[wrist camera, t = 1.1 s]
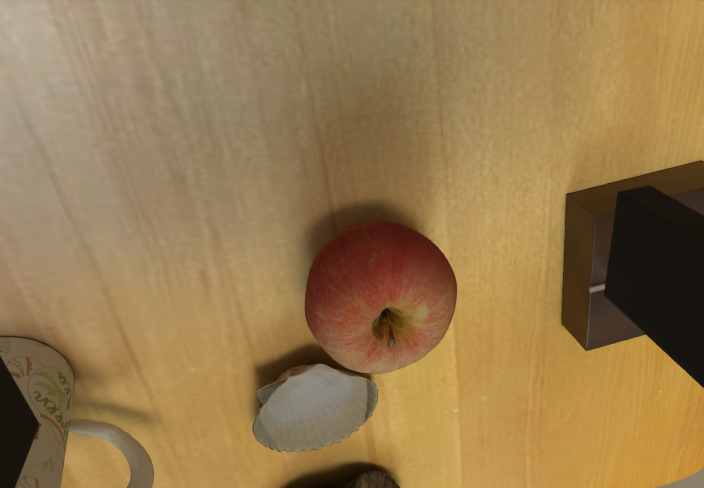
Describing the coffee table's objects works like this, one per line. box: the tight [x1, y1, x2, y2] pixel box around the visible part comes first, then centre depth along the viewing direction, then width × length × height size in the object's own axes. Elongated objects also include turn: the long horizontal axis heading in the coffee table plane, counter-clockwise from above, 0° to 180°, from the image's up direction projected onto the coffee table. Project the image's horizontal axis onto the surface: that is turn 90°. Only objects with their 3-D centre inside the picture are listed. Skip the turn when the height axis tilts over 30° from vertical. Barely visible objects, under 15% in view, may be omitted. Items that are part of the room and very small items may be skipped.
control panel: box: [562, 161, 704, 351], centre depth 34 cm, size 10×9×3 cm
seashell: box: [253, 363, 378, 452], centre depth 35 cm, size 8×3×8 cm
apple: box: [305, 221, 457, 374], centre depth 29 cm, size 8×8×8 cm
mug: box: [0, 337, 154, 488], centre depth 28 cm, size 8×13×10 cm, turn 62°
